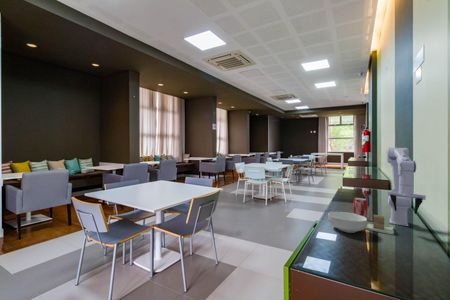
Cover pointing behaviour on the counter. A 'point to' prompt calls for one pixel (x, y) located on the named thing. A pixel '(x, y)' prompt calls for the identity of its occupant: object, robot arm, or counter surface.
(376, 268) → the counter surface
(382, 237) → the counter surface
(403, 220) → the robot arm
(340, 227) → the cereal bowl
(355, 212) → the soda can
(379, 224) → the walnut block
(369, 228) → the tray
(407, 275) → the counter surface
